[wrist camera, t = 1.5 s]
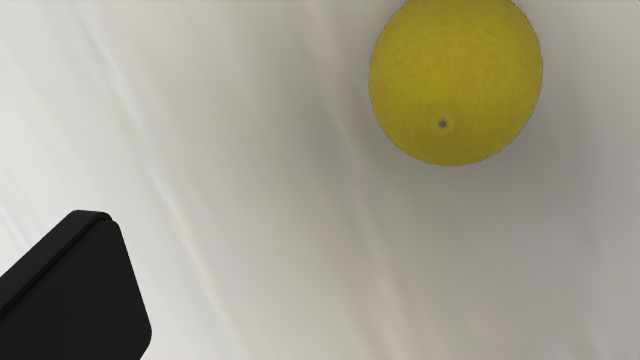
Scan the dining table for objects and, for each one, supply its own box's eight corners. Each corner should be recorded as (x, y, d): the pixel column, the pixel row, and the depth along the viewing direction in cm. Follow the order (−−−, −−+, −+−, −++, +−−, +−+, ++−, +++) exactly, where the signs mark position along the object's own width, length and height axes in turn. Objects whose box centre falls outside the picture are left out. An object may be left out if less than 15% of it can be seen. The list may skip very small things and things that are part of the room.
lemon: (538, 98, 23) (548, 208, 17) (399, 107, 25) (359, 209, 18) (538, -48, 21) (549, 13, 14) (383, -27, 22) (328, 36, 16)
